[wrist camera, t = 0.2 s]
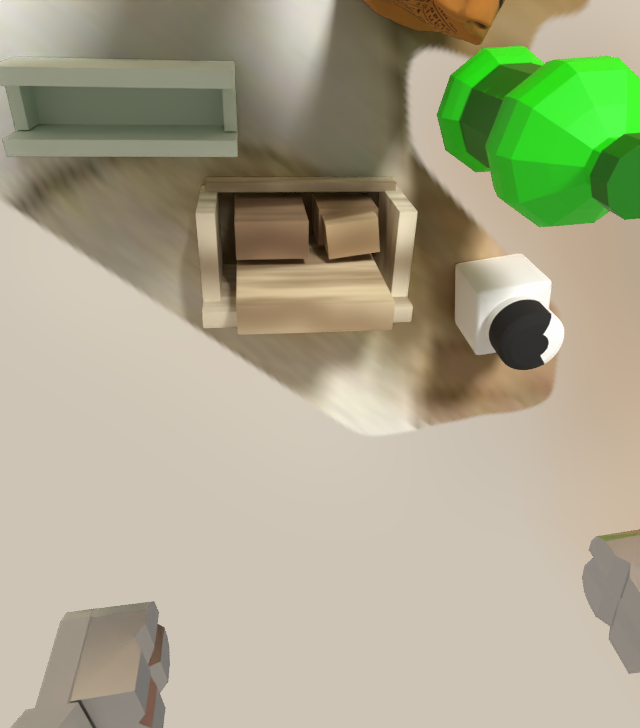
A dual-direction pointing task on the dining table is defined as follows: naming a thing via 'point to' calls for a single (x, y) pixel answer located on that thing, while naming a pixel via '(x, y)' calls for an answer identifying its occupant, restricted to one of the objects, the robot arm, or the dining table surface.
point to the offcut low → (337, 207)
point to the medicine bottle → (507, 310)
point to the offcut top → (351, 233)
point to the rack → (393, 205)
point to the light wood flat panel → (312, 294)
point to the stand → (120, 107)
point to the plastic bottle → (548, 132)
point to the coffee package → (442, 16)
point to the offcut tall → (270, 226)
